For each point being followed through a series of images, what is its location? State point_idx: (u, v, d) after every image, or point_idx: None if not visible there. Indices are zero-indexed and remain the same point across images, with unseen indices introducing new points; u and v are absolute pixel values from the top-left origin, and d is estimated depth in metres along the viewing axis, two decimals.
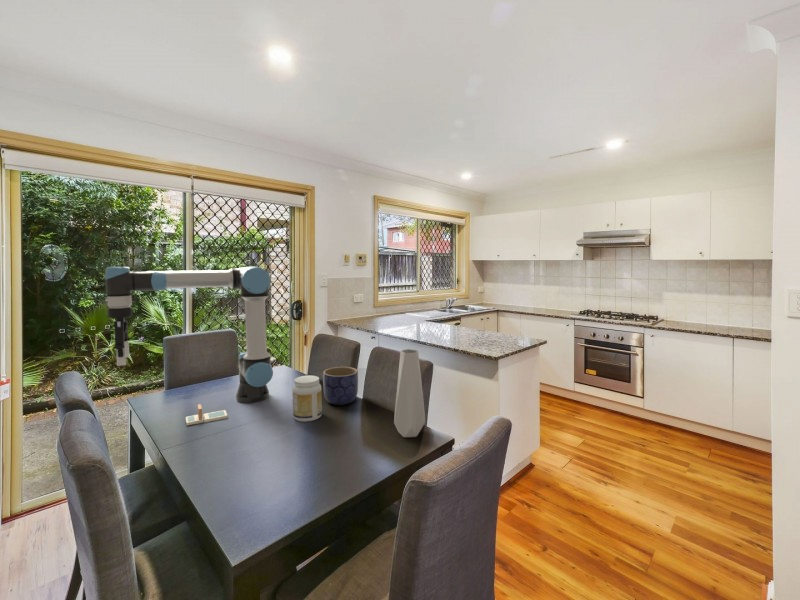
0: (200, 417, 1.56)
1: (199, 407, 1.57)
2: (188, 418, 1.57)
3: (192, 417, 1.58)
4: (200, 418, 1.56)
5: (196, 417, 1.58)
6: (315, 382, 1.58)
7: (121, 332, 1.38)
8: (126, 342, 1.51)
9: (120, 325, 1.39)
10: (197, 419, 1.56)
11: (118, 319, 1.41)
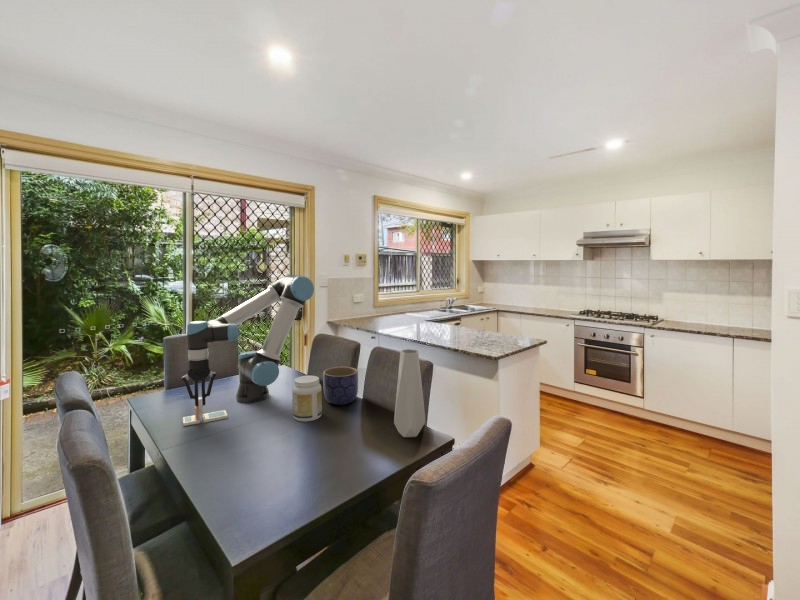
0: (197, 418, 1.55)
1: (196, 408, 1.56)
2: (185, 419, 1.56)
3: (189, 418, 1.57)
4: (197, 419, 1.55)
5: (193, 418, 1.57)
6: (315, 382, 1.58)
7: (186, 386, 1.54)
8: None
9: (183, 380, 1.54)
10: (194, 420, 1.55)
11: None
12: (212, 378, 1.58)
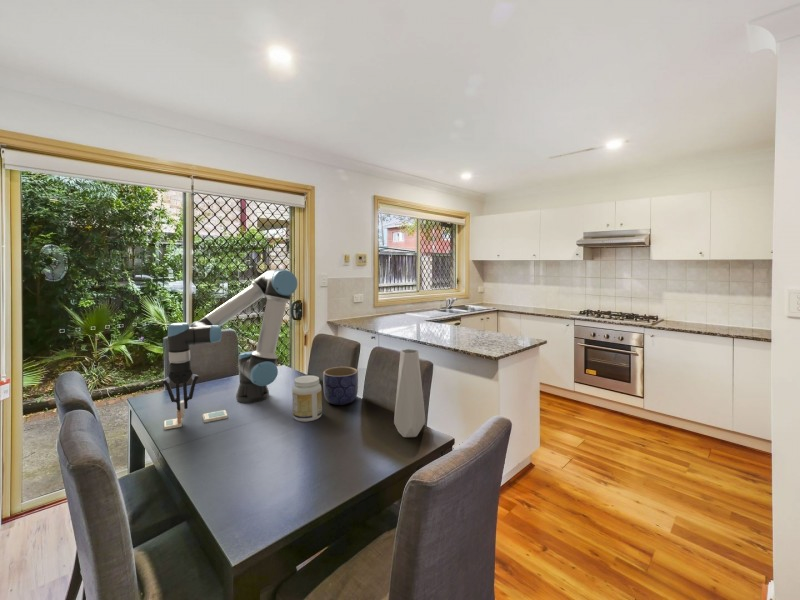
0: (179, 421, 1.52)
1: (178, 411, 1.53)
2: (167, 422, 1.53)
3: (171, 421, 1.54)
4: (179, 422, 1.52)
5: (175, 421, 1.54)
6: (315, 382, 1.58)
7: None
8: None
9: None
10: (176, 423, 1.52)
11: None
12: (194, 381, 1.55)
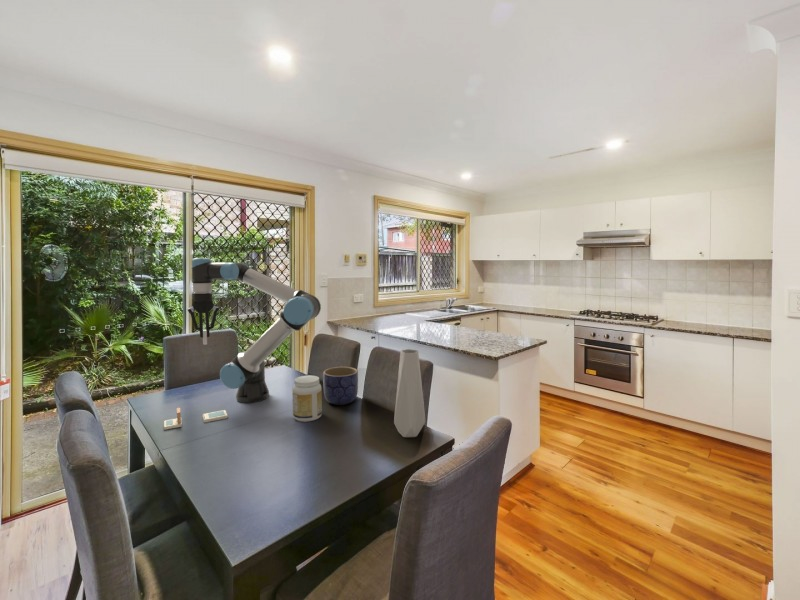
0: (179, 421, 1.52)
1: (178, 411, 1.53)
2: (166, 422, 1.53)
3: (171, 421, 1.54)
4: (179, 422, 1.52)
5: (175, 421, 1.54)
6: (315, 382, 1.58)
7: None
8: None
9: (189, 312, 1.66)
10: (175, 423, 1.52)
11: None
12: (215, 312, 1.71)
